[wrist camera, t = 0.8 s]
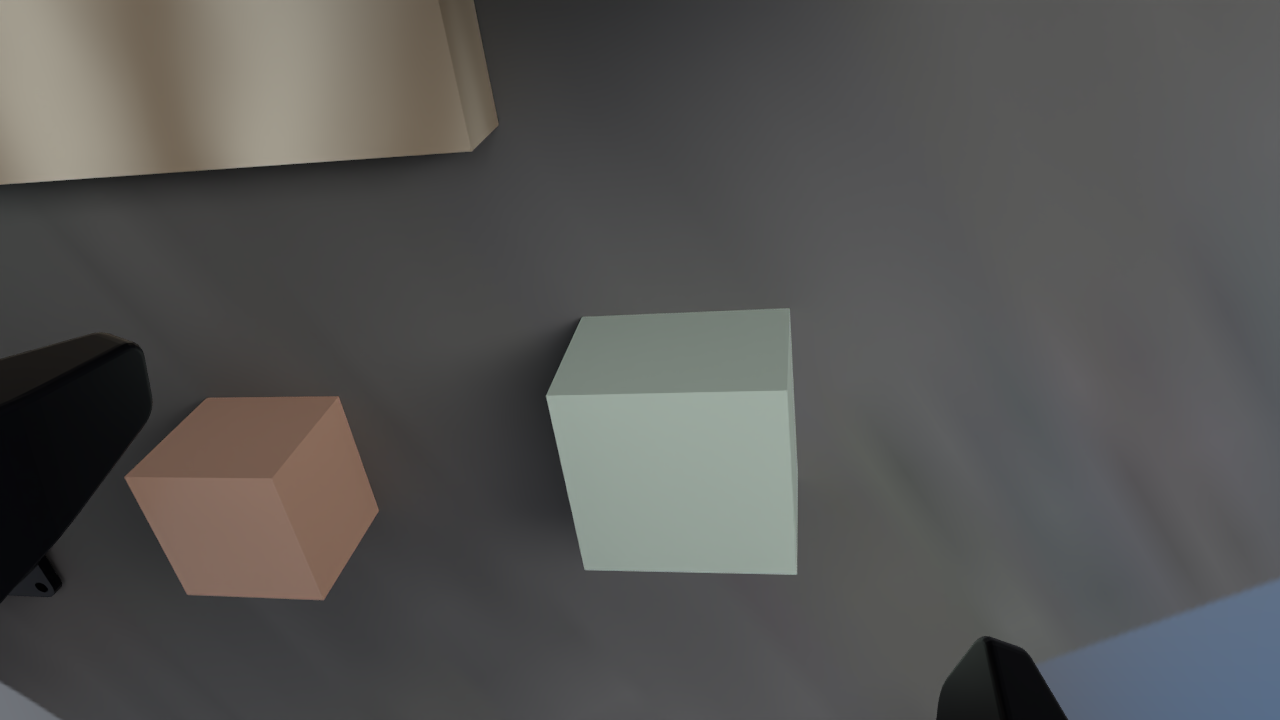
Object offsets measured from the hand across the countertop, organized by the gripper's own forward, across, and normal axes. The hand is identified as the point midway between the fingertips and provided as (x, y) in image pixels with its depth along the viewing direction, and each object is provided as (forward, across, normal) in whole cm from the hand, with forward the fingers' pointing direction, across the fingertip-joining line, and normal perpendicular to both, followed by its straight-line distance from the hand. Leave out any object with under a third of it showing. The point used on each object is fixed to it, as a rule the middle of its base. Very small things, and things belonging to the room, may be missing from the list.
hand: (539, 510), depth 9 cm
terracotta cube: (+12, +10, +14) cm, 21 cm away
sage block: (+13, -1, +8) cm, 15 cm away
